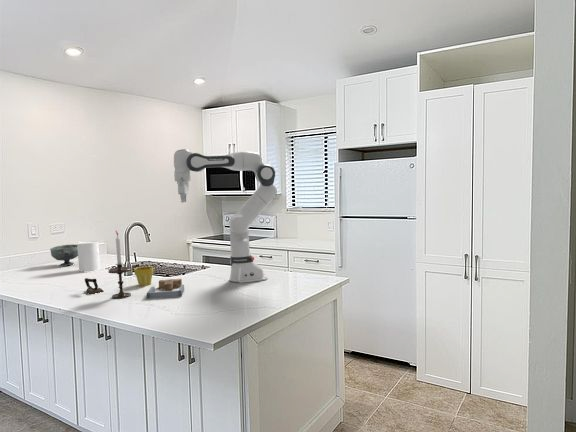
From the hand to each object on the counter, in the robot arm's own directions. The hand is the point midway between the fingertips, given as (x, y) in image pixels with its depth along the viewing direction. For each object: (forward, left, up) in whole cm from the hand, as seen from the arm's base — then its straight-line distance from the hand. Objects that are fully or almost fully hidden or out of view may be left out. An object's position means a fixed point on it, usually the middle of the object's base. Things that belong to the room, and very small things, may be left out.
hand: (183, 202), depth 237 cm
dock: (+9, +23, -47) cm, 53 cm away
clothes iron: (+51, +6, -48) cm, 70 cm away
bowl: (+99, -91, -47) cm, 143 cm away
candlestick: (+32, +21, -47) cm, 61 cm away
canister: (+74, -64, -48) cm, 109 cm away
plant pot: (+25, -4, -47) cm, 54 cm away
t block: (+9, +11, -47) cm, 49 cm away
